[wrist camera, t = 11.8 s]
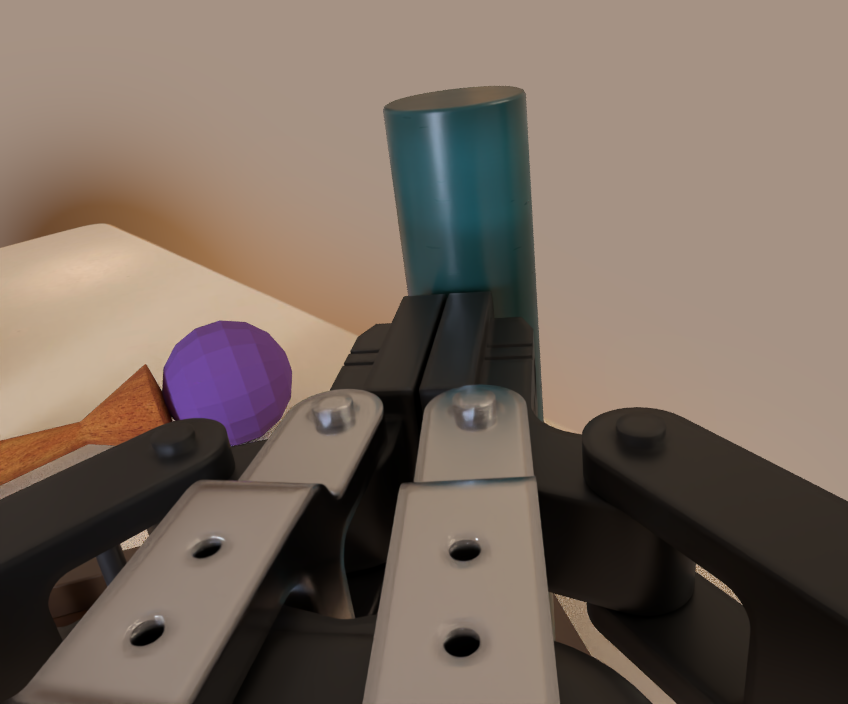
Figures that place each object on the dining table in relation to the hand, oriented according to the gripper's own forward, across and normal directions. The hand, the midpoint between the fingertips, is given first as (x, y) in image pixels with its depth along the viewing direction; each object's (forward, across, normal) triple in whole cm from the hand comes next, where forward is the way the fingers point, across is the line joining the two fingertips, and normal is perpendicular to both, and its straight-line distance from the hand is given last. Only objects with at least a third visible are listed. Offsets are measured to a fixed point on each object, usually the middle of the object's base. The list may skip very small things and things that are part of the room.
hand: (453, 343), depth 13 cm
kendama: (+14, +20, +13) cm, 28 cm away
